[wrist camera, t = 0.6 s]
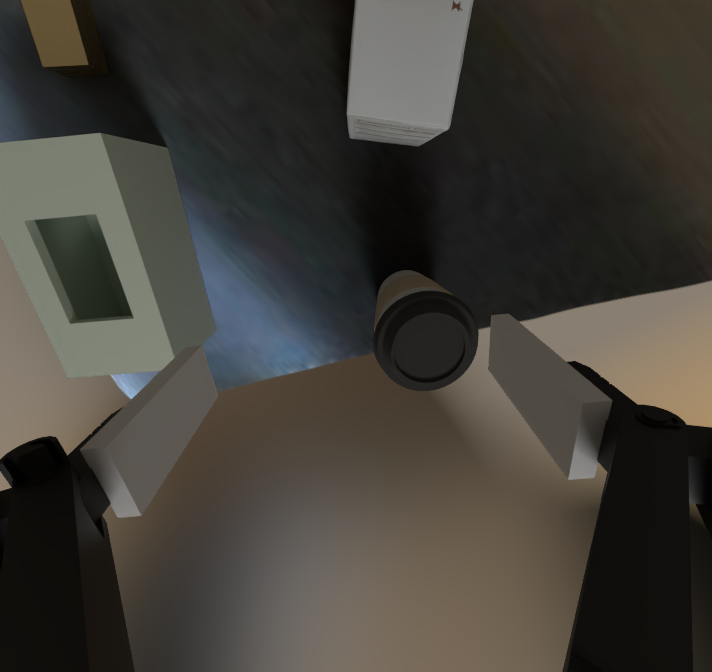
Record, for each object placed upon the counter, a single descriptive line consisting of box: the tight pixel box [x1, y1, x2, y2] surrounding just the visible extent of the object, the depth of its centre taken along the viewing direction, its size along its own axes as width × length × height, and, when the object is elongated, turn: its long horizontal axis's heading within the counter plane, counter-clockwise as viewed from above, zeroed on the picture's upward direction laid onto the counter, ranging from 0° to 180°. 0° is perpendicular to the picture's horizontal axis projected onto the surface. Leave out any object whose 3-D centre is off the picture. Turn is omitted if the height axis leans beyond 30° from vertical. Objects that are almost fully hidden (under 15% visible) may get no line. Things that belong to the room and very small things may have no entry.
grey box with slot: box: [0, 133, 216, 378], centre depth 34 cm, size 20×11×10 cm, turn 5°
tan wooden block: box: [21, 0, 109, 77], centre depth 30 cm, size 7×4×3 cm, turn 2°
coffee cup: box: [373, 270, 478, 391], centre depth 34 cm, size 9×9×15 cm
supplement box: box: [347, 0, 473, 146], centre depth 27 cm, size 7×7×13 cm
